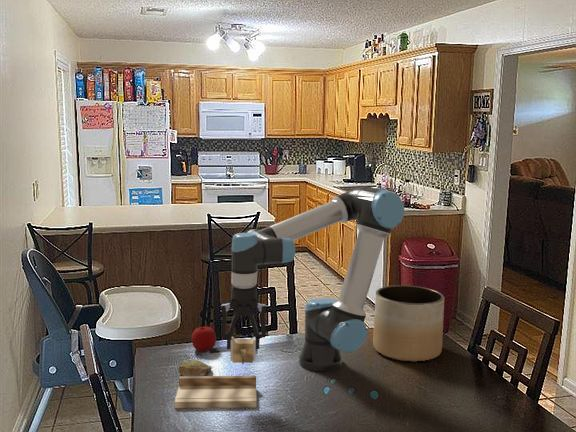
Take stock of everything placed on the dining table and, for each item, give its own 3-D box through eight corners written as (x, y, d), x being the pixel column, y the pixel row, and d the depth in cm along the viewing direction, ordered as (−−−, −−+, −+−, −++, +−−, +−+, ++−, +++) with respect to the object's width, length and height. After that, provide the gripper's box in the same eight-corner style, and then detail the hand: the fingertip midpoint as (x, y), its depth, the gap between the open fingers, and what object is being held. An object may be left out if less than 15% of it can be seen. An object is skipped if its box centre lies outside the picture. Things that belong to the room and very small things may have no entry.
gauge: (252, 357, 178) (253, 338, 177) (253, 368, 169) (253, 349, 169) (233, 357, 177) (233, 338, 177) (232, 368, 169) (232, 349, 168)
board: (255, 389, 183) (256, 375, 183) (256, 407, 171) (256, 392, 171) (179, 389, 182) (179, 376, 181) (174, 408, 170) (174, 393, 169)
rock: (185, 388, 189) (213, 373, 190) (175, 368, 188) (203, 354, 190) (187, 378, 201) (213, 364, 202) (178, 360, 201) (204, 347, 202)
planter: (440, 342, 227) (443, 287, 224) (442, 367, 203) (446, 307, 199) (375, 335, 233) (377, 282, 229) (369, 359, 208) (372, 300, 205)
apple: (214, 354, 210) (214, 328, 208) (189, 354, 210) (189, 328, 208) (217, 345, 219) (217, 320, 218) (193, 344, 219) (193, 319, 218)
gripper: (275, 282, 177) (273, 354, 180) (212, 281, 175) (212, 354, 179) (276, 288, 169) (274, 363, 173) (211, 288, 168) (210, 364, 171)
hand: (243, 358), depth 176 cm, fingers closed on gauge, 6 cm apart
